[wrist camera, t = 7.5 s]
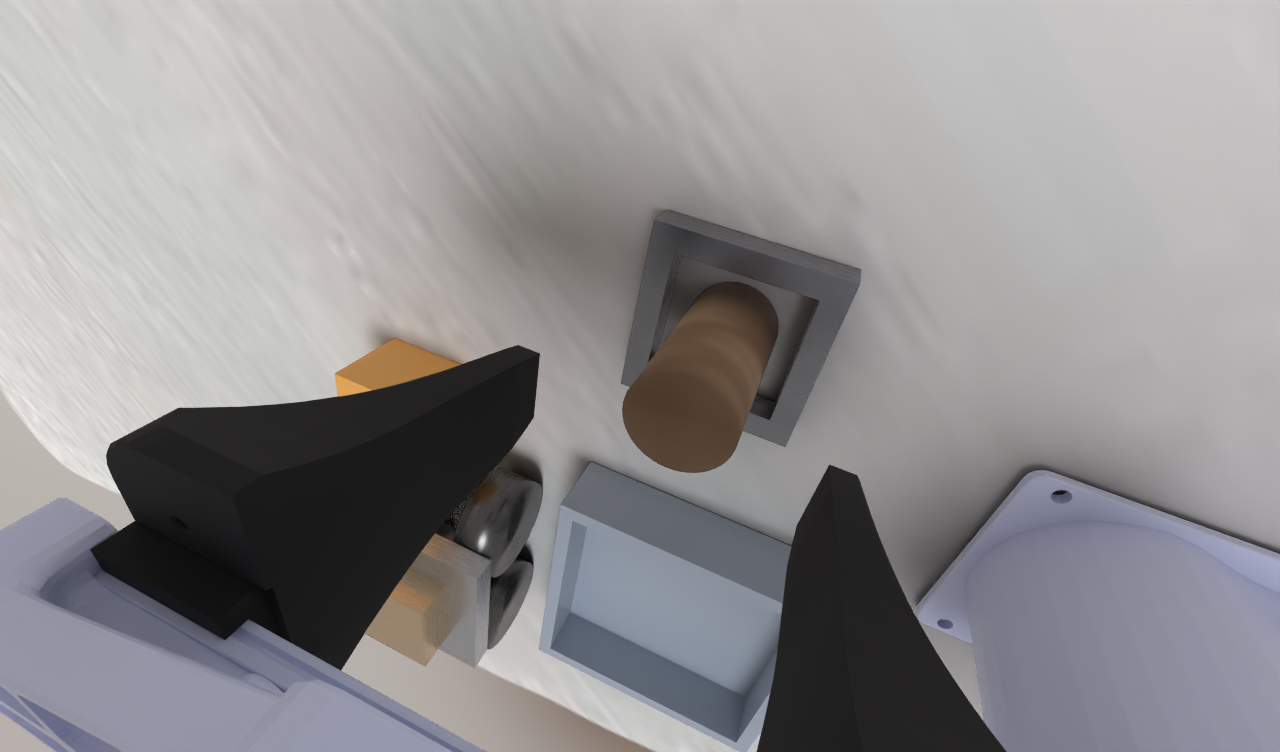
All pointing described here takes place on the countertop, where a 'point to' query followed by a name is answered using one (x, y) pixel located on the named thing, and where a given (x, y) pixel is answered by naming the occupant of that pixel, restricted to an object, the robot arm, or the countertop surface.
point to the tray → (666, 604)
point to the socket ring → (757, 262)
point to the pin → (703, 380)
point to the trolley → (465, 577)
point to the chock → (389, 368)
